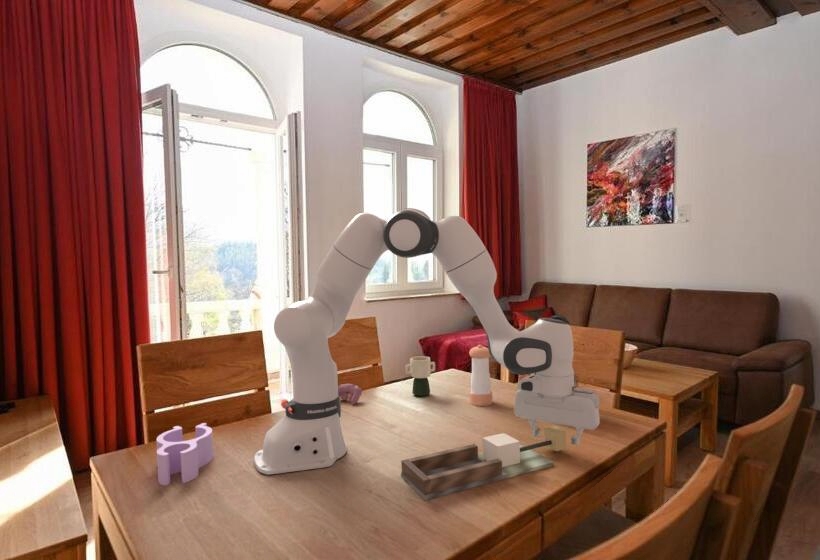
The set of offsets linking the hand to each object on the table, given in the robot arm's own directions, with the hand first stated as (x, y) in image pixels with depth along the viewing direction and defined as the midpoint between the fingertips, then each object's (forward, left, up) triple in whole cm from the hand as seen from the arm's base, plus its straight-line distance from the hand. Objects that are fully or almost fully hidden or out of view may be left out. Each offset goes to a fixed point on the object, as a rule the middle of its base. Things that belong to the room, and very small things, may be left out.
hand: (555, 440), depth 120 cm
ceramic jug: (+20, +23, -3) cm, 31 cm away
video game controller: (-32, +66, -3) cm, 74 cm away
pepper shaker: (+6, +42, -3) cm, 42 cm away
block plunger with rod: (-9, 0, -2) cm, 9 cm away
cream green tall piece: (-7, +60, -3) cm, 60 cm away
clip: (-83, +37, -3) cm, 91 cm away
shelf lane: (-22, 0, -3) cm, 22 cm away
